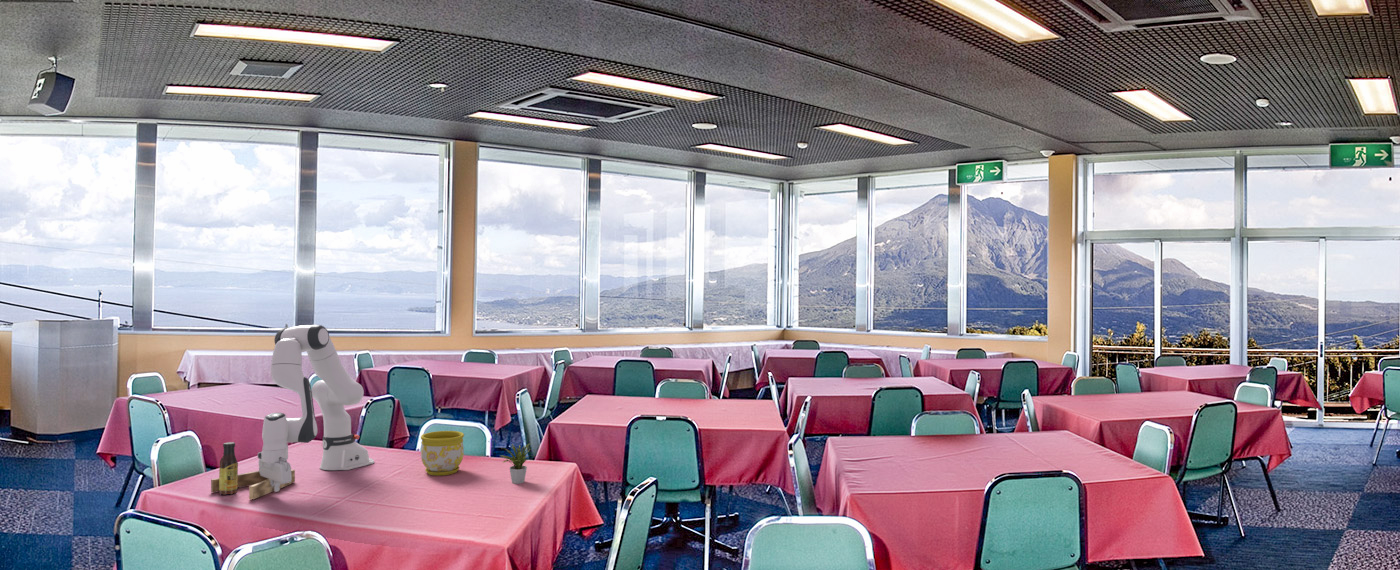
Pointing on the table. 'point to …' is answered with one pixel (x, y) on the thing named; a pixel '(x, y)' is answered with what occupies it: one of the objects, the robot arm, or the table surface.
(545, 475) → the table surface
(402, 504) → the table surface
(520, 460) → the house plant
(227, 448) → the sauce bottle
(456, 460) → the flowerpot
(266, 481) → the oak jaw
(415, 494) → the table surface
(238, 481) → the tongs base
